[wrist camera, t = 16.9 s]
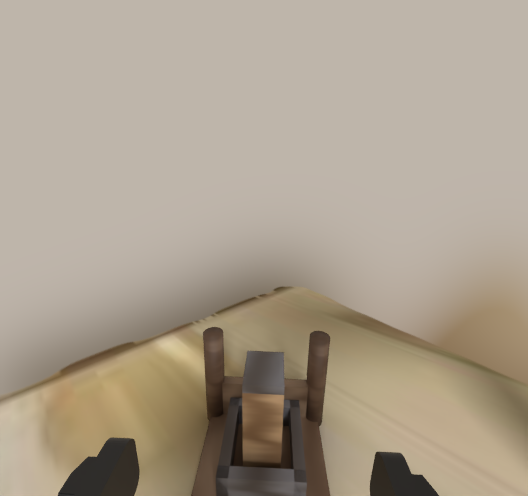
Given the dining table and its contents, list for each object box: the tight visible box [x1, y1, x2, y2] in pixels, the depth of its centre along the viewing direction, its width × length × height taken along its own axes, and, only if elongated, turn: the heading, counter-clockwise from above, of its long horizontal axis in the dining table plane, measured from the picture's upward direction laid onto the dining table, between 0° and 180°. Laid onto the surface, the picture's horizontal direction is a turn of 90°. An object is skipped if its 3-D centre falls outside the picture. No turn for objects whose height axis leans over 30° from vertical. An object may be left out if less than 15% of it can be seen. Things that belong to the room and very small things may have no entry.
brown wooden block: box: [242, 351, 285, 468], centre depth 32 cm, size 4×5×12 cm
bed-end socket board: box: [191, 327, 330, 496], centre depth 33 cm, size 15×12×13 cm
